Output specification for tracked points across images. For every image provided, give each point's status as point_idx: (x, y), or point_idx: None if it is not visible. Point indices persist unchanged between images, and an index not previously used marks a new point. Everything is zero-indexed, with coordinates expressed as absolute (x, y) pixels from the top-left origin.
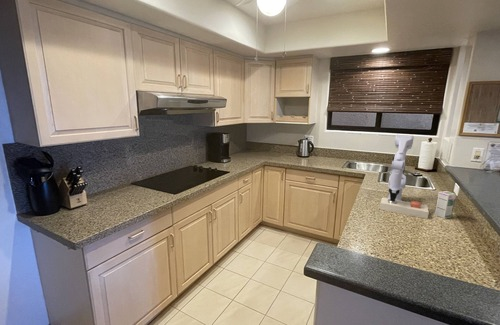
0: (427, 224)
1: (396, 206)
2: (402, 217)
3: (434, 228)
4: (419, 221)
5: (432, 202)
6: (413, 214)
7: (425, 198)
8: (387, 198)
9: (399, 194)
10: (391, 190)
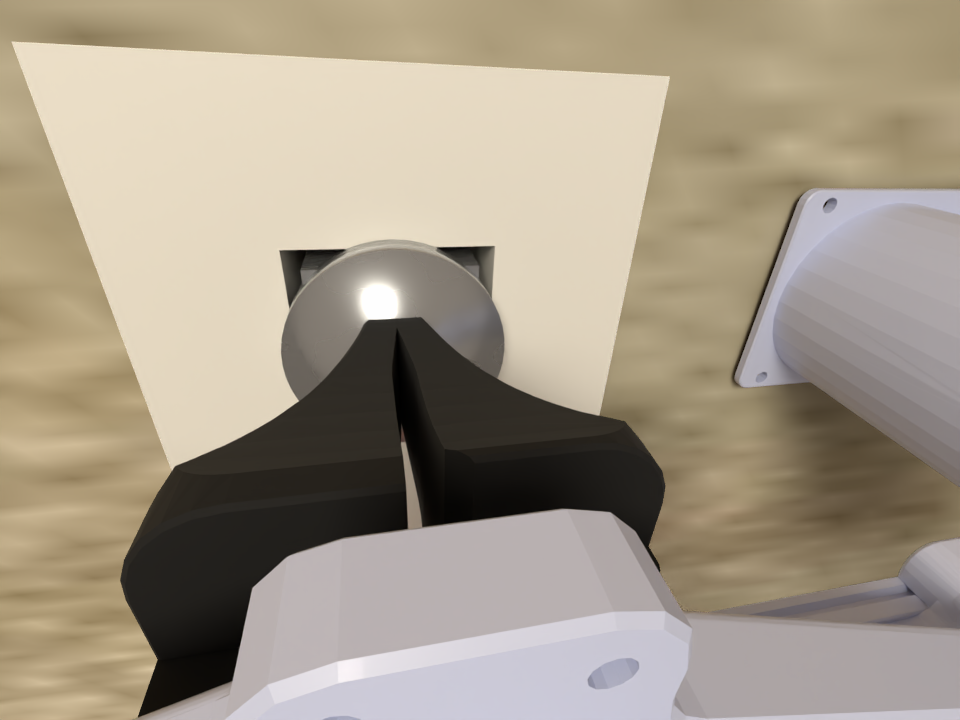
0: (80, 663)
1: (163, 432)
2: (35, 463)
3: (15, 710)
4: (100, 609)
5: (827, 589)
6: None
7: (933, 540)
8: (617, 220)
9: (876, 420)
10: (212, 620)
